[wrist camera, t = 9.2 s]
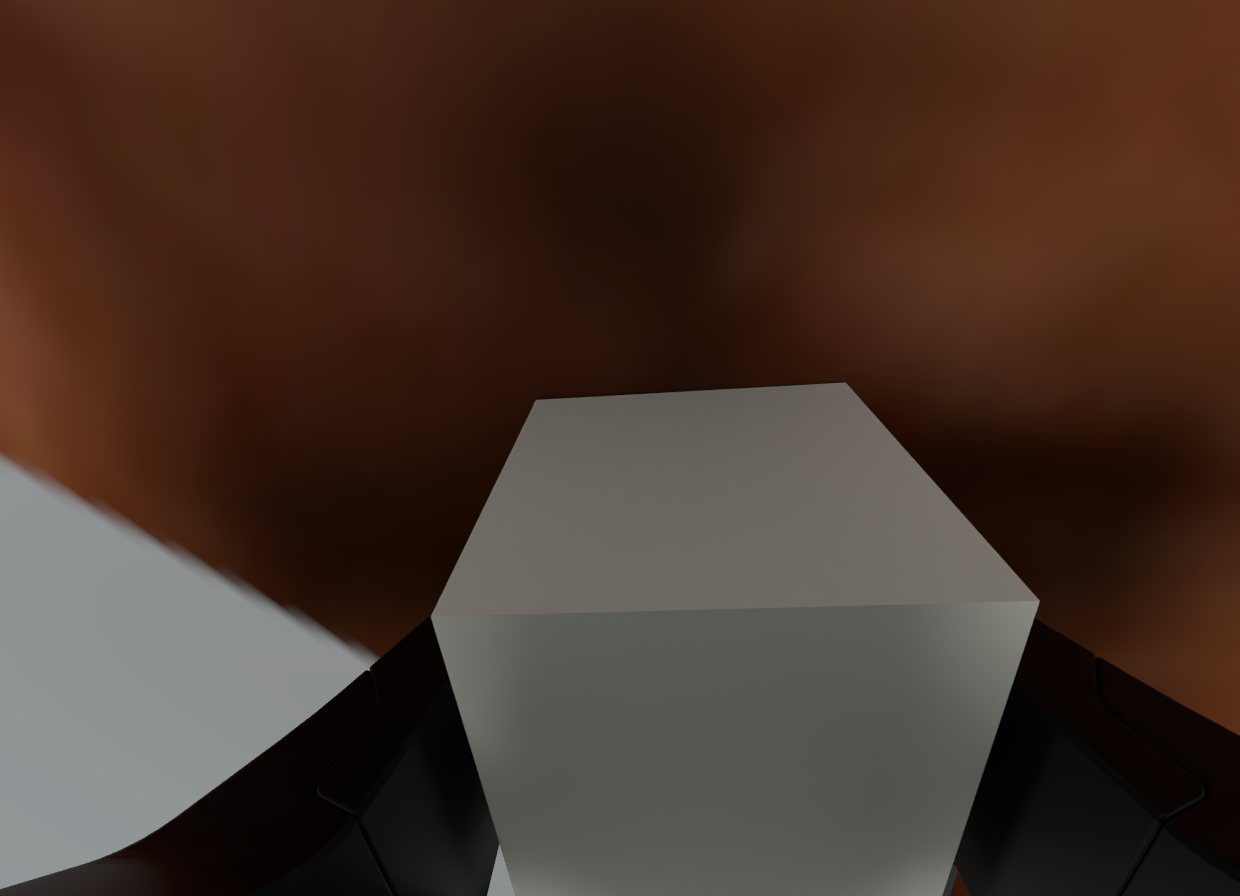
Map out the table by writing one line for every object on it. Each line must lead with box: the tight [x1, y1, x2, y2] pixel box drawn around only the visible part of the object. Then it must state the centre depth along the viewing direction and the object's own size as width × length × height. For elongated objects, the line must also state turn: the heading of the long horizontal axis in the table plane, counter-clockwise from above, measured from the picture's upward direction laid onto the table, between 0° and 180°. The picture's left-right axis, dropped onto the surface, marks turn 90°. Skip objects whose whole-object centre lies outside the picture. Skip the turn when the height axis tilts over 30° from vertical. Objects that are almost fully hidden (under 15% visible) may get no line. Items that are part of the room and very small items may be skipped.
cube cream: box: [431, 383, 1040, 896], centre depth 8 cm, size 5×5×5 cm
